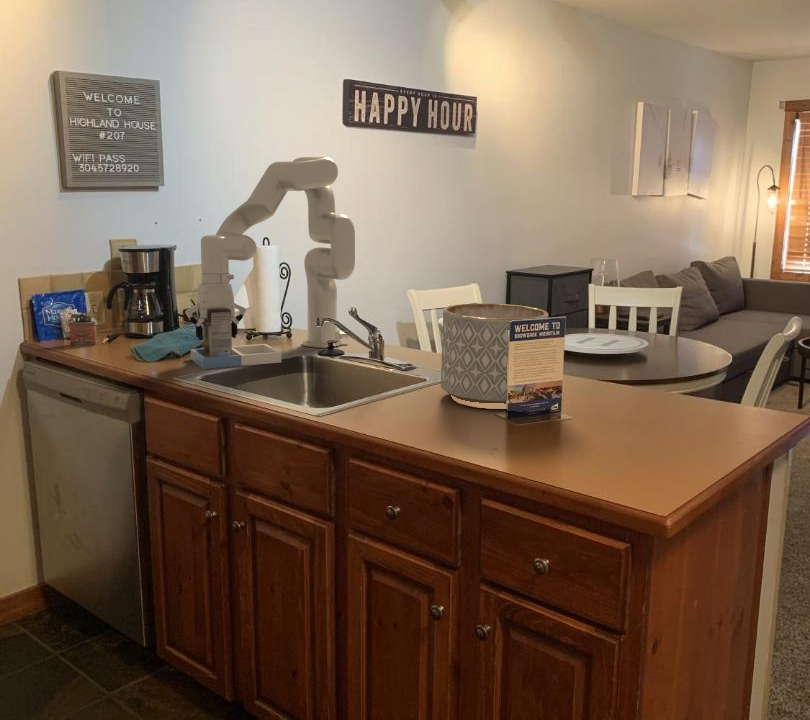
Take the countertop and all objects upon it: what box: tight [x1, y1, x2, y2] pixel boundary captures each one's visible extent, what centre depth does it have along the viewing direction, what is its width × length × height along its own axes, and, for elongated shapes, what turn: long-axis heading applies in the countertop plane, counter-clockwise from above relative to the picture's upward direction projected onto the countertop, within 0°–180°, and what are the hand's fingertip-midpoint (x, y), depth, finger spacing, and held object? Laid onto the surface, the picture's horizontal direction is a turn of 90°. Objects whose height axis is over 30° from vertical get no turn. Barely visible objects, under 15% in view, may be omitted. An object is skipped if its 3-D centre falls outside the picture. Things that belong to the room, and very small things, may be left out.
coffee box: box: [202, 309, 233, 358], centre depth 230 cm, size 9×6×16 cm
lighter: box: [68, 312, 98, 347], centre depth 250 cm, size 8×3×10 cm, turn 94°
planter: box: [440, 303, 549, 404], centre depth 196 cm, size 26×26×22 cm
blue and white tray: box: [190, 343, 282, 370], centre depth 234 cm, size 23×14×4 cm, turn 119°
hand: (216, 338), depth 230 cm, fingers open, 9 cm apart
